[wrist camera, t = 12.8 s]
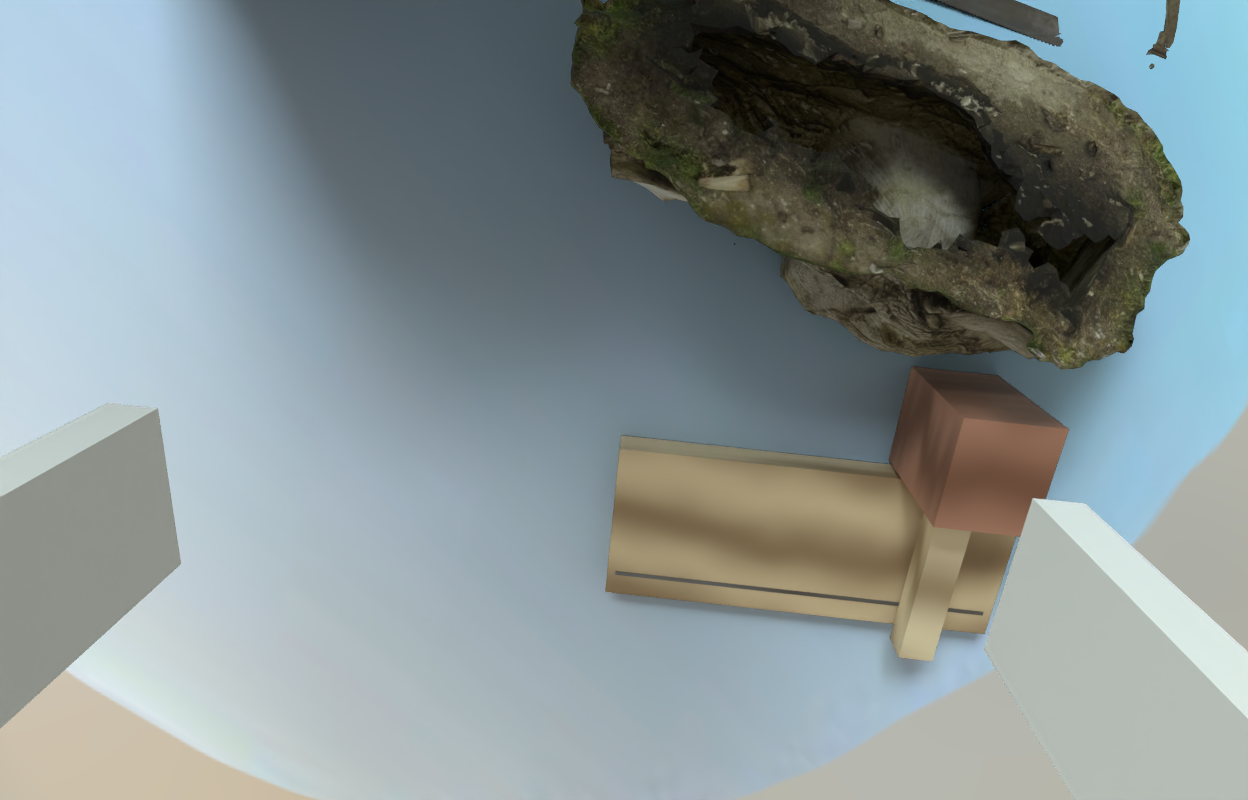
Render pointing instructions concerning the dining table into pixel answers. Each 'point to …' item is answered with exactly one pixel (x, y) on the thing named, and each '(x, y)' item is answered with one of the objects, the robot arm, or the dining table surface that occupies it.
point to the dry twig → (1051, 20)
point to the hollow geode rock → (893, 167)
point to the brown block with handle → (963, 482)
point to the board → (779, 534)
